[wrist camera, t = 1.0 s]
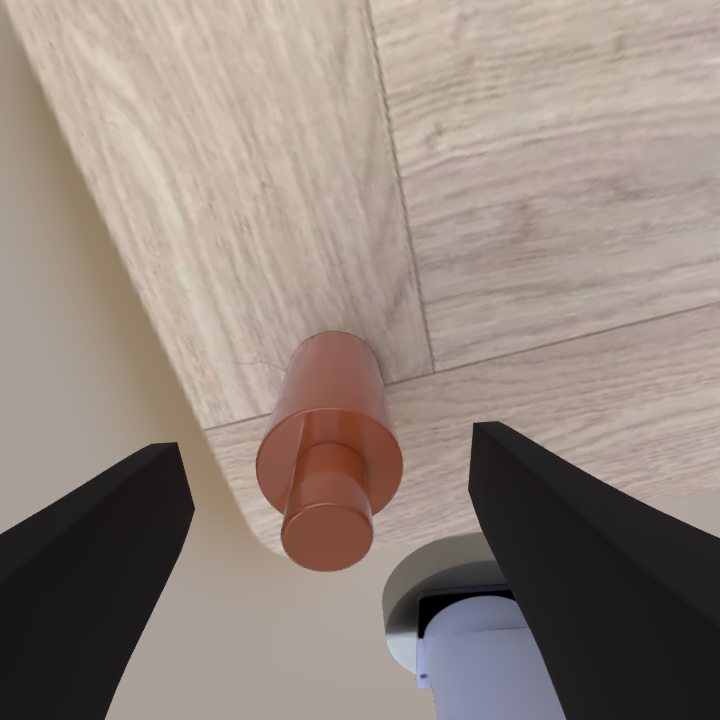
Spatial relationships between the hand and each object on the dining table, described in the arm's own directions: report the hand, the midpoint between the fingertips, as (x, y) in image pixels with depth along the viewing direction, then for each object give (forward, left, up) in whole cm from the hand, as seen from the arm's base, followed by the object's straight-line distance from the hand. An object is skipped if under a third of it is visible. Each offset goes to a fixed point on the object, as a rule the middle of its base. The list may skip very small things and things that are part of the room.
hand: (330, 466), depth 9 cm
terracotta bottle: (0, 0, -6) cm, 6 cm away
